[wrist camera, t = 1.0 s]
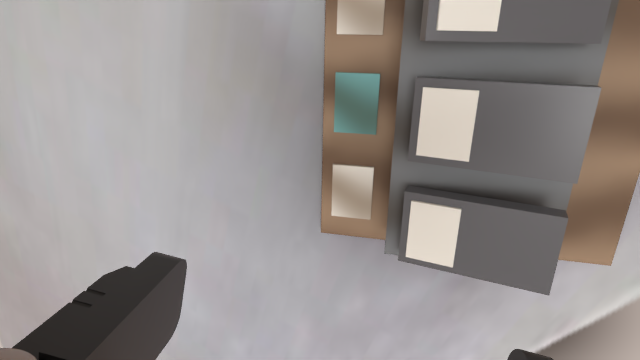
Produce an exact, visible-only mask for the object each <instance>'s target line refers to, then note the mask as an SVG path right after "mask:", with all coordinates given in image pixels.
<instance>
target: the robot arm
mask: <svg viewBox="0 0 640 360" xmlns="http://www.w3.org/2000/svg"><path fill="white" fill-rule="evenodd" d="M186 269H187V263H186V260H184V259H181V258H177V257H173V256H169V255H166V254H162V253H158V252H154V253H152V254H151V255H150V256H148V257H147V258H146V259H145V260H144V261H143V262H141V263H140V264H139V265H138V266H137V267H136V268H131V267H128V266H125V267H123V268H120V269H118V270H115V271H113V272H110V273H108V274H105V275H103V276H102V277H101V278H100V279H98V280H97V281H96V282H95V283H93V284H92V285H91V286H89V287H88V288H87V291H83V292H82V293H81V294H79V295H78V296H77V297H76V298H74V299H73V301H72V303H70V302H69V303H68V304H67V305H66V306H64V307H63V308H62V309H60V310H59V311H58V312H57V313H55V314H54V315H53V316H52V317H50V318H49V319H48V320H47V321H45V322H44V323H43V324H42V325H40V326H39V327H38V328H37V329H35V330H34V331H33V332H31V333H30V334H29V335H28V336H26V337H25V338H24V339H23V340H21V341H20V342H19V343H18V344H16V345H15V346H14V347H13V348H0V360H155V359H156V358H157V357H158V355H159V354H160V353H161V351H162V350H163V348H164V347H165V346H166V344H167V343H168V342H169V340H170V339H171V337H172V335H173V333H174V331H175V329H176V327H177V324H178V321H179V318H180V313H181V307H182V299H183V292H184V284H185V277H186ZM507 360H553V359H552V358H550V357H546V356H543V355H539V354H536V353H532V352H528V351H524V350H520V349H515V350H513V351H512V352H511V353H510V355H509V357H508V359H507Z"/></svg>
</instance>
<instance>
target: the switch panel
mask: <svg viewBox="0 0 640 360" xmlns="http://www.w3.org/2000/svg"><path fill="white" fill-rule="evenodd" d="M422 11H423V0H326V9H325V59H324V109H323V158H322V208H321V232H322V233H331V234H339V235H348V236H357V237H366V238H374V239H383V240H386V241H385V253H384V254H393V255H399V246H400V236H401V225H402V215H403V205H404V194H405V190H406V189H407V187H408V186H409V185H410V186H416V187H422V188H429V189H435V190H441V191H448V192H454V193H460V194H466V195H473V196H479V197H485V198H492V199H498V200H504V201H511V202H517V203H523V204H530V205H536V206H542V207H548V208H555V209H561V210H566V212H567V215H568V222H567V226H566V230H565V234H564V238H563V242H562V246H561V250H560V254H559V258H558V260H566V261H575V262H584V263H592V264H601V265H610V266H611V264H612V260H613V257H614V254H615V251H616V247H617V244H618V241H619V238H620V234H621V231H622V228H623V225H624V221H625V218H626V215H627V212H628V208H629V205H630V202H631V199H632V195H633V192H634V189H635V186H636V182H637V179H638V176H639V173H640V0H611V4H610V8H609V13H608V17H607V21H606V25H605V29H604V33H603V37H602V41H601V44H580V43H525V42H470V41H420V31H421V21H422ZM418 76H431V77H450V78H469V79H487V80H506V81H525V82H544V83H563V84H582V85H597V86H599V87H601V92H600V96H599V100H598V104H597V108H596V112H595V116H594V120H593V124H592V128H591V132H590V136H589V140H588V143H587V147H586V151H585V155H584V159H583V163H582V167H581V171H580V175H579V179H578V183H577V184H573V183H566V182H558V181H551V180H544V179H536V178H529V177H522V176H514V175H507V174H499V173H492V172H485V171H477V170H470V169H462V168H455V167H448V166H440V165H433V164H426V163H418V162H411V161H408V153H409V142H410V132H411V122H412V111H413V101H414V91H415V80H416V77H418Z"/></svg>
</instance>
